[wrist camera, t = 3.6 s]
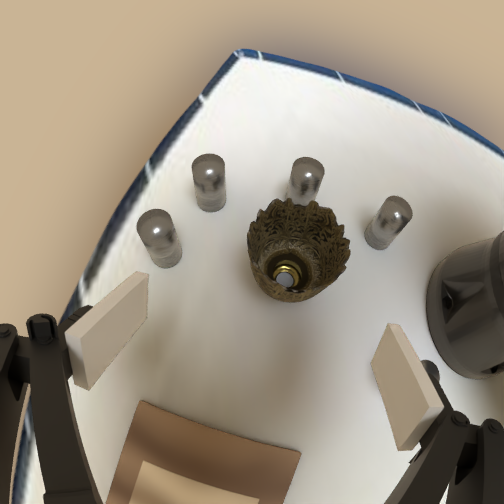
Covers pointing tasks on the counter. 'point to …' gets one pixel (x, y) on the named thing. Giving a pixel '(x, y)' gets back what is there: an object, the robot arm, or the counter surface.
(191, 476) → the walnut pad
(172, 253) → the spacer field
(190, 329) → the counter surface
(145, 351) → the counter surface
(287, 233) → the cup
